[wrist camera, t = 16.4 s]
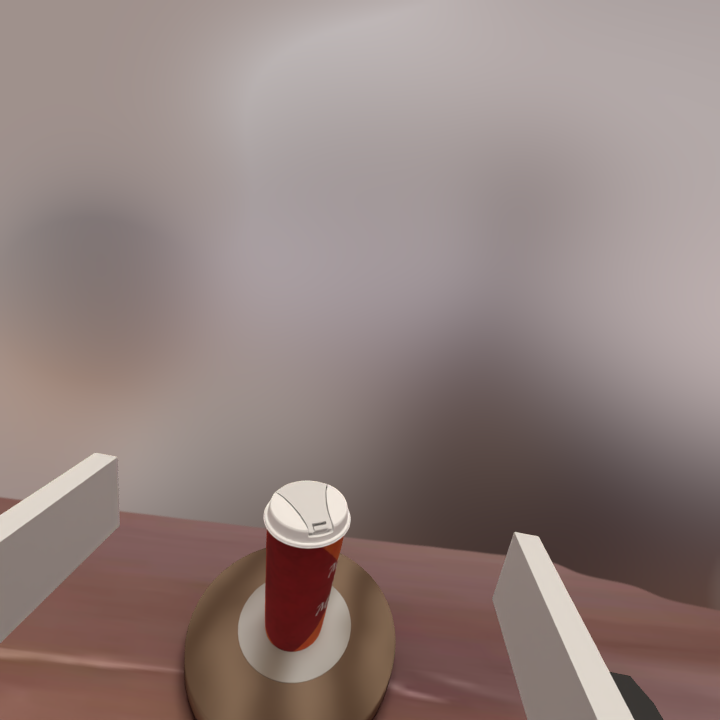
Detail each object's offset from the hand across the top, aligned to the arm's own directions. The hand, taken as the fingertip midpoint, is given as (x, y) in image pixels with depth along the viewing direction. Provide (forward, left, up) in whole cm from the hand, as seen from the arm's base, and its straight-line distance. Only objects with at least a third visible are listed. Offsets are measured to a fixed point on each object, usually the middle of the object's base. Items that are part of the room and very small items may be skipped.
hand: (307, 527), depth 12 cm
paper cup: (+2, -17, -27) cm, 32 cm away
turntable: (+2, -18, -29) cm, 34 cm away
